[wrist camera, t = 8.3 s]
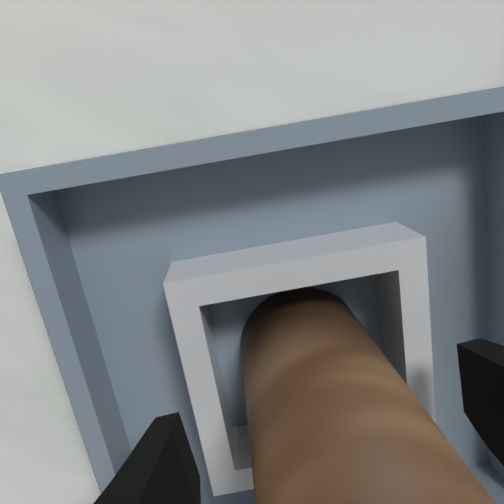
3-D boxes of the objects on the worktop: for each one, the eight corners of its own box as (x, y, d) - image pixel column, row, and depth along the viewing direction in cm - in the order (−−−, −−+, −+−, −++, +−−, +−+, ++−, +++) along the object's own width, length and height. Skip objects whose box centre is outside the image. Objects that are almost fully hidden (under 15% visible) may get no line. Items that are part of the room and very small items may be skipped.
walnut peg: (347, 273, 14) (513, 452, 6) (368, 379, 15) (532, 647, 7) (226, 305, 14) (235, 526, 6) (256, 408, 15) (297, 710, 7)
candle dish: (487, 89, 13) (555, 77, 10) (491, 457, 17) (542, 518, 14) (37, 167, 13) (-12, 176, 10) (145, 523, 17) (130, 598, 14)
